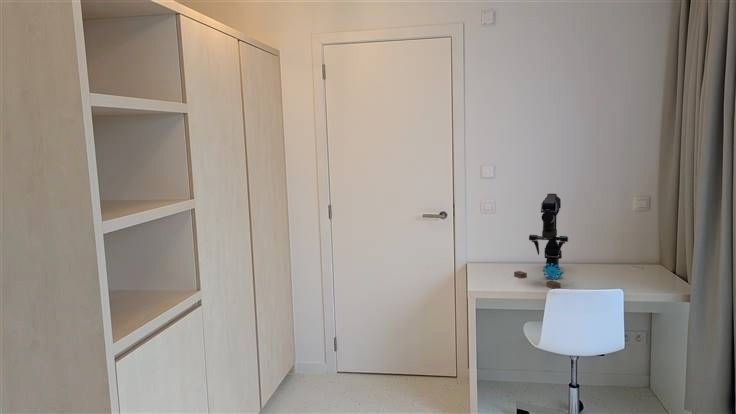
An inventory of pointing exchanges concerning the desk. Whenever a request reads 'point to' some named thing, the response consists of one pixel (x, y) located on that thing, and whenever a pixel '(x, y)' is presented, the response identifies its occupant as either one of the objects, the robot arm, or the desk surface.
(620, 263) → the desk surface
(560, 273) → the gear
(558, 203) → the robot arm
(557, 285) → the joist marks
